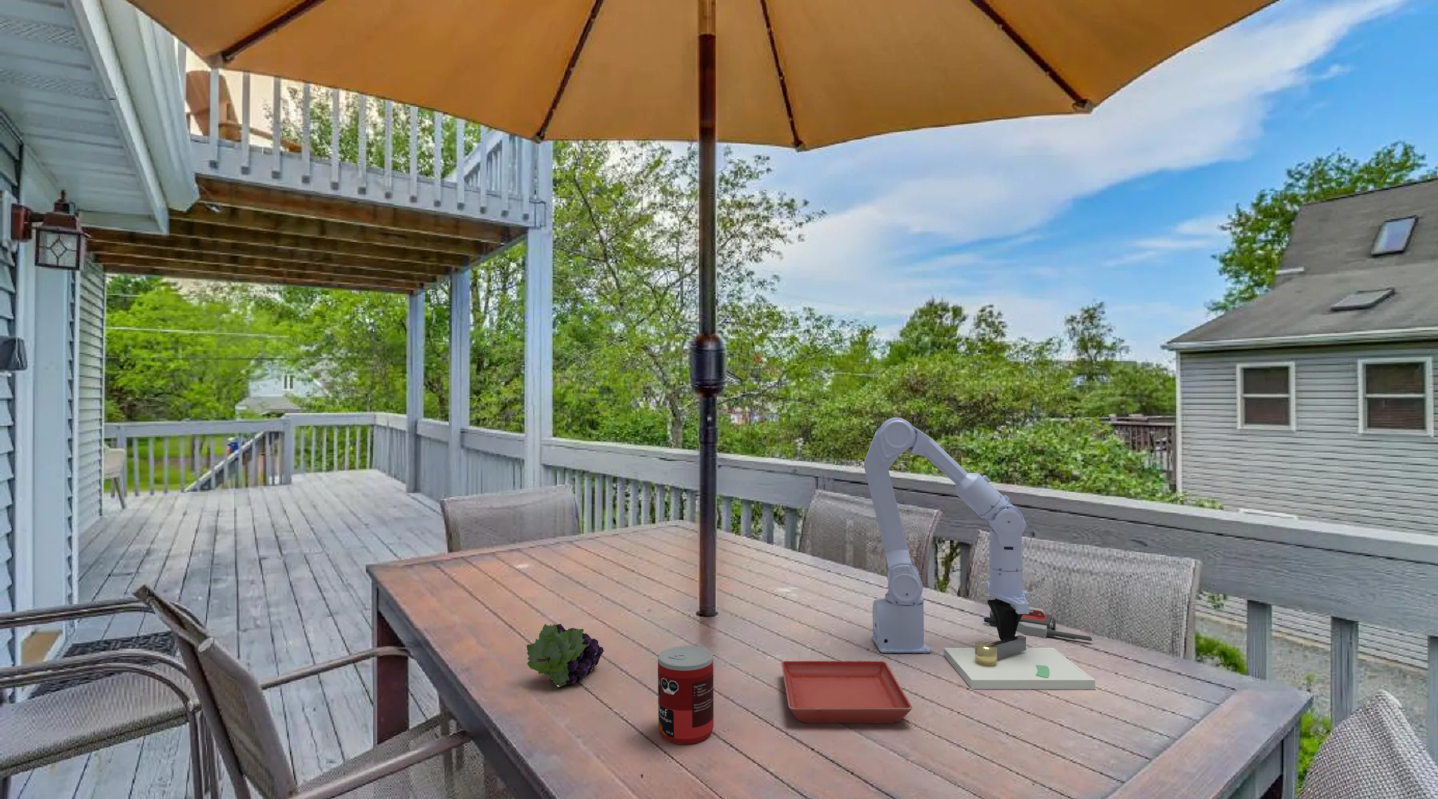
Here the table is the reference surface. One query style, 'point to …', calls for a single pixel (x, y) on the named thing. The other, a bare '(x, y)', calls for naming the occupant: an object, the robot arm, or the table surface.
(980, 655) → the dial lever
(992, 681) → the dial board
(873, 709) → the plant saucer
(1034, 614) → the walkie-talkie
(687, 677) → the canned food
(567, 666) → the fruit
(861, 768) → the table surface
